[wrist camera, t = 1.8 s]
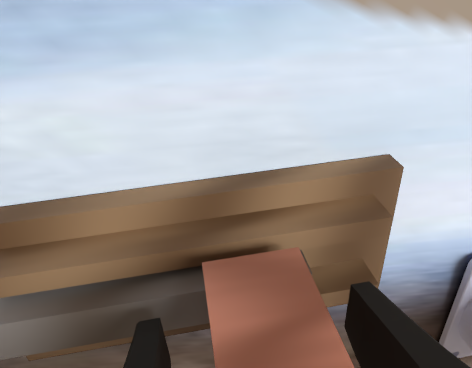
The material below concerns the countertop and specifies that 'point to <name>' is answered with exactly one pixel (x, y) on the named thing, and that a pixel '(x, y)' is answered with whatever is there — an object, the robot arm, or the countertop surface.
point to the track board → (206, 230)
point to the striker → (190, 312)
